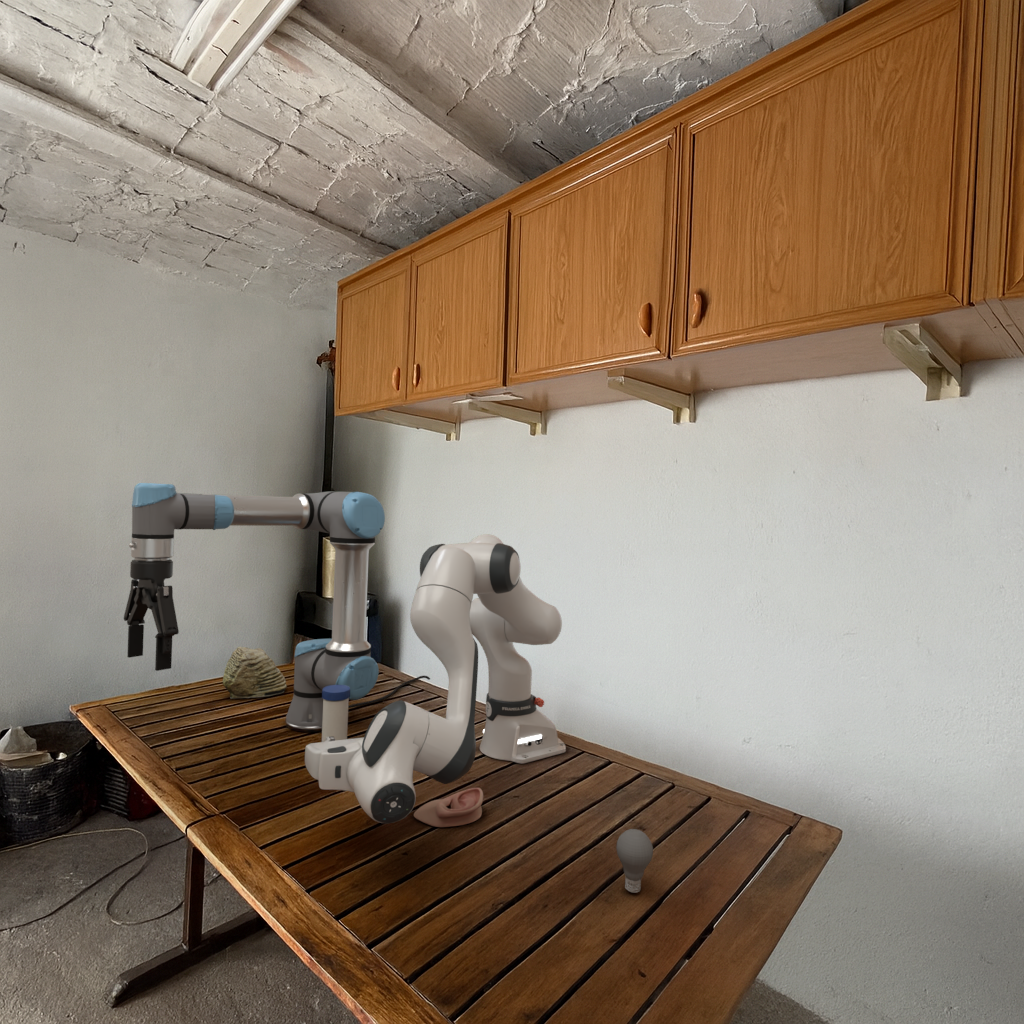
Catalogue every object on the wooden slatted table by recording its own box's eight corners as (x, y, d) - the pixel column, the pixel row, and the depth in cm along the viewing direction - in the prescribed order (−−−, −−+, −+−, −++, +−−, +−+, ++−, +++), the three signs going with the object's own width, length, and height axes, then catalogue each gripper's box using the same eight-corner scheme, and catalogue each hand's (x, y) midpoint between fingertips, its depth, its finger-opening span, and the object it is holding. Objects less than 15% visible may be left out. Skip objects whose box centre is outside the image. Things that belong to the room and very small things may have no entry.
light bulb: (610, 879, 108) (613, 822, 108) (644, 879, 109) (647, 822, 109) (619, 902, 102) (622, 840, 102) (655, 901, 103) (658, 840, 103)
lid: (351, 692, 147) (352, 684, 147) (348, 701, 141) (348, 692, 141) (324, 692, 147) (324, 684, 147) (319, 701, 141) (320, 692, 140)
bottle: (347, 769, 147) (350, 687, 147) (343, 780, 142) (347, 694, 142) (322, 770, 147) (325, 686, 146) (318, 780, 141) (321, 694, 141)
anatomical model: (408, 802, 124) (427, 778, 135) (407, 822, 124) (427, 796, 136) (473, 812, 122) (488, 786, 133) (473, 832, 122) (487, 805, 133)
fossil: (218, 695, 195) (220, 647, 195) (278, 685, 208) (279, 640, 207) (228, 703, 189) (230, 653, 188) (289, 692, 201) (290, 645, 201)
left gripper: (108, 554, 134) (104, 654, 134) (159, 565, 118) (155, 678, 119) (146, 552, 140) (143, 648, 140) (199, 563, 124) (195, 671, 124)
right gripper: (426, 740, 117) (405, 716, 130) (312, 754, 108) (301, 727, 121) (425, 774, 117) (404, 747, 130) (310, 791, 109) (300, 760, 121)
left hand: (148, 662), depth 129 cm, fingers open, 13 cm apart
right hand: (353, 737), depth 125 cm, fingers open, 8 cm apart
